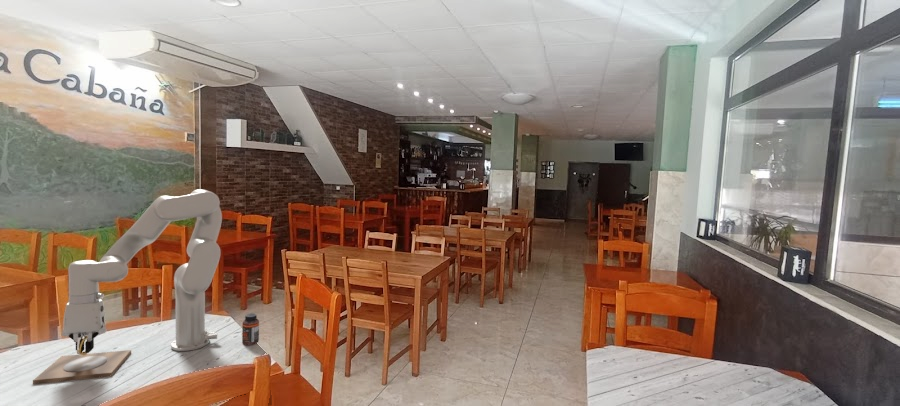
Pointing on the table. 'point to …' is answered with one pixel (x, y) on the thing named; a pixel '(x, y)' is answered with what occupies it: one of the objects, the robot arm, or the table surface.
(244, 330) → the supplement bottle
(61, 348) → the table surface
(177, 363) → the table surface
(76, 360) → the walnut board
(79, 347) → the bracelet
